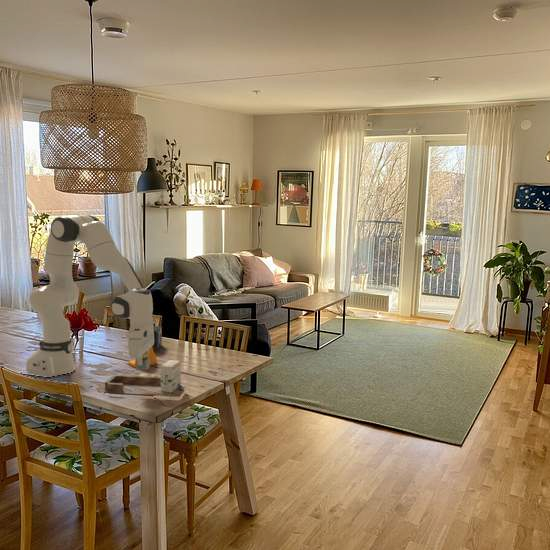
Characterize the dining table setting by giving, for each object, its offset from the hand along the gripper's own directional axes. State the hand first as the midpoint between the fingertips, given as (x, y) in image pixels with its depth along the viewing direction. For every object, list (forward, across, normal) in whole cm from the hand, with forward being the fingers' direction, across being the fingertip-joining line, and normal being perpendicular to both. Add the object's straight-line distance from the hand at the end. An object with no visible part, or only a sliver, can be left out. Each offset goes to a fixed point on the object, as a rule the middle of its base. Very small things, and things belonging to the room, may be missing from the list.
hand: (142, 362), depth 219 cm
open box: (+12, 0, -4) cm, 12 cm away
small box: (+12, -58, -14) cm, 61 cm away
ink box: (+12, -1, +11) cm, 16 cm away
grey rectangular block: (+2, 0, 0) cm, 2 cm away
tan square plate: (+12, -13, -3) cm, 18 cm away
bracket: (+12, -29, -10) cm, 33 cm away
